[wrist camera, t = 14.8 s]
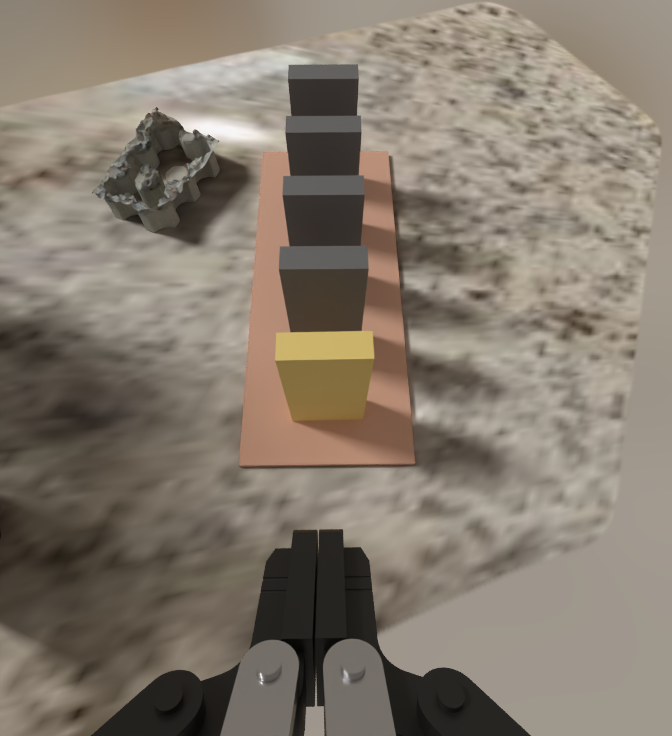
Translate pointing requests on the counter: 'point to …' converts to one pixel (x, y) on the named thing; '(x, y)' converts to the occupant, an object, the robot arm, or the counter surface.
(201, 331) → the counter surface
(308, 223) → the charcoal domino
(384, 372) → the terracotta mat
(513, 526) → the counter surface
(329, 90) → the charcoal domino
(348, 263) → the charcoal domino
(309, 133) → the charcoal domino
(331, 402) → the ochre domino
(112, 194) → the egg carton
